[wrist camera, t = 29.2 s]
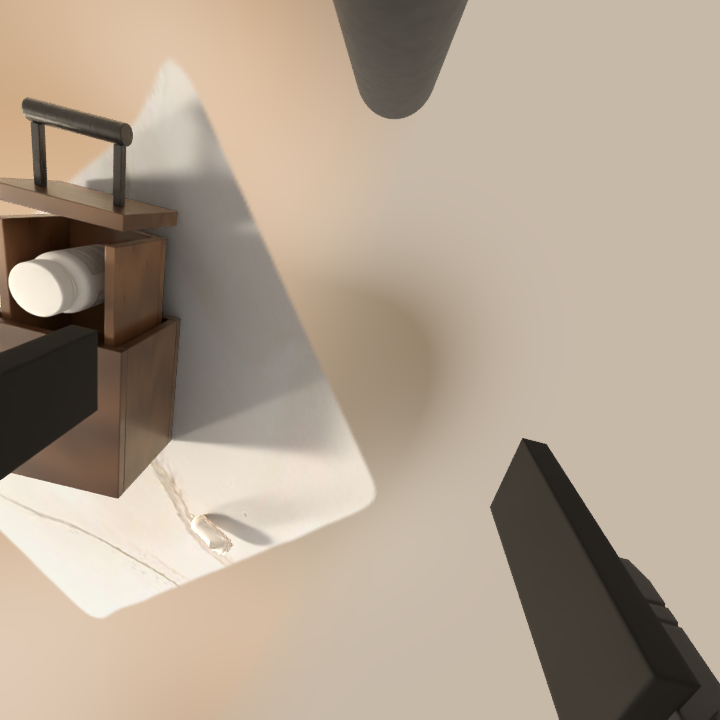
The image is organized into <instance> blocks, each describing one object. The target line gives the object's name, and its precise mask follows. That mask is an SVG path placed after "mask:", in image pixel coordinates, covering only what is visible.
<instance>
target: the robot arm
mask: <svg viewBox="0 0 720 720" xmlns="http://www.w3.org/2000/svg"><path fill="white" fill-rule="evenodd" d="M97 410H98V331H96V330H92V329H89V328H85V327H81V326H77V325H73V324H72V325H69V326H67V327H64V328H61V329H59V330H56V331H54V332H51V333H49V334H46V335H44V336H41V337H39V338H36V339H33V340H31V341H28V342H26V343H23V344H21V345H18V346H16V347H13V348H11V349H8V350H6V351H3V352H0V480H1V479H3V478H4V477H6V476H7V475H8V474H10V473H11V472H13V471H14V470H15V469H17V468H18V467H19V466H21V465H22V464H24V463H25V462H26V461H28V460H29V459H31V458H32V457H33V456H35V455H36V454H38V453H39V452H40V451H42V450H43V449H44V448H46V447H47V446H49V445H50V444H51V443H53V442H54V441H56V440H57V439H58V438H60V437H61V436H62V435H64V434H65V433H67V432H68V431H69V430H71V429H72V428H74V427H75V426H76V425H78V424H79V423H80V422H82V421H83V420H85V419H86V418H87V417H89V416H90V415H92V414H93V413H94V412H96V411H97ZM490 508H491V512H492V515H493V518H494V521H495V524H496V527H497V530H498V533H499V536H500V539H501V542H502V545H503V548H504V551H505V554H506V557H507V561H508V564H509V567H510V570H511V573H512V576H513V579H514V582H515V585H516V588H517V591H518V594H519V598H520V600H521V604H522V607H523V610H524V613H525V616H526V619H527V622H528V625H529V628H530V631H531V634H532V638H533V640H534V644H535V647H536V650H537V652H538V656H539V659H540V662H541V665H542V668H543V671H544V674H545V677H546V681H547V684H548V687H549V690H550V693H551V696H552V699H553V702H554V705H555V708H556V711H557V714H558V717H559V720H720V683H719V682H718V681H717V679H716V678H715V676H714V675H713V673H712V672H711V671H710V669H709V667H708V666H707V664H706V663H705V661H704V660H703V658H702V657H701V656H700V654H699V653H698V651H697V650H696V648H695V647H694V645H693V644H692V642H691V641H690V639H689V638H688V636H687V635H686V634H685V632H684V631H683V629H682V628H680V627H678V622H677V620H676V619H675V617H674V616H673V614H672V613H671V611H670V610H669V609H668V608H666V607H665V603H664V601H663V600H662V598H661V597H660V595H659V594H658V592H657V591H656V590H655V588H654V587H653V585H652V584H651V582H650V581H649V580H648V579H647V578H646V577H645V576H644V575H643V574H642V573H641V572H640V571H639V570H638V569H637V568H636V567H635V566H634V565H633V564H632V563H631V562H630V561H629V560H627V559H623V558H619V557H618V555H617V554H616V552H615V550H614V549H613V547H612V546H611V544H610V543H609V541H608V539H607V538H606V536H605V535H604V533H603V532H602V530H601V528H600V527H599V525H598V524H597V522H596V521H595V519H594V518H593V516H592V514H591V513H590V511H589V510H588V508H587V507H586V505H585V503H584V502H583V500H582V499H581V497H580V496H579V494H578V493H577V491H576V489H575V488H574V486H573V485H572V483H571V482H570V480H569V478H568V477H567V476H566V474H565V472H564V471H563V469H562V468H561V466H560V464H559V463H558V461H557V460H556V458H555V457H554V455H553V453H552V452H551V451H550V449H549V447H548V446H547V444H543V443H540V442H536V441H532V440H528V439H524V438H522V440H521V442H520V445H519V447H518V449H517V451H516V453H515V455H514V458H513V459H512V462H511V464H510V466H509V468H508V470H507V472H506V474H505V477H504V478H503V481H502V483H501V485H500V487H499V489H498V491H497V493H496V495H495V498H494V500H493V502H492V504H491V506H490Z"/></svg>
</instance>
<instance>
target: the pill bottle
mask: <svg viewBox="0 0 720 720" xmlns="http://www.w3.org/2000/svg"><path fill="white" fill-rule="evenodd" d="M105 245H108V244H95V245H88V246H82V247H75V248H69V249H64V250H57V251H51V252H47V253H43V254H41V255H39V256H38V257H37V258H35V259H34V260H30V261H26V262H22V263H19V264H17V265H16V266H15V267H14V268H13V269H12V270H11V272H10V274H9V280H8V282H9V288H10V291H11V294H12V296H13V298H14V299H15V300H16V302H17V303H18V304H19V305H20V306H21V307H22V308H23V309H25V310H26V311H28V312H29V313H31V314H33V315H36V316H42V317H48V316H53V315H56V314H59V313H62V312H63V313H76V312H80V311H82V310H85V309H88V308H91V307H94V306H96V305H99V304H102V303H105Z"/></svg>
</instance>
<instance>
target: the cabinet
mask: <svg viewBox="0 0 720 720" xmlns="http://www.w3.org/2000/svg"><path fill="white" fill-rule="evenodd" d="M180 322H181V319H179V318H175V317H171V316H167V315H163V314H162V321H161V324H160V325H158V326H156V327H154V328H152V329H151V330H149V331H147V332H145V333H143V334H141V335H139V336H138V337H136V338H134V339H132V340H130V341H128V342H127V343H125V344H123V345H121V346H119V347H115V346H111V345H107V344H103V343H99V342H98V410H97V411H96V412H94V413H93V414H92V415H90V416H89V417H87V418H86V419H85V420H83V421H82V422H80V423H79V424H78V425H76V426H75V427H74V428H72V429H71V430H69V431H68V432H67V433H65V434H64V435H62V436H61V437H60V438H58V439H57V440H56V441H54V442H53V443H51V444H50V445H49V446H47V447H46V448H44V449H43V450H42V451H40V452H39V453H38V454H36V455H35V456H33V457H32V458H31V459H29V460H28V461H26V462H25V463H24V464H22V465H21V466H19V467H18V468H17V469H15V470H14V471H13V472H11V473H14V474H18V475H22V476H26V477H31V478H35V479H39V480H43V481H47V482H51V483H55V484H60V485H64V486H68V487H72V488H76V489H80V490H84V491H89V492H93V493H97V494H101V495H105V496H109V497H113V498H119V497H120V496H121V495H122V494H123V493H124V492H125V491H126V489H127V488H128V487H129V486H130V485H131V484H132V483H133V482H134V481H135V480H136V478H137V477H138V476H139V475H140V474H141V473H142V472H143V471H144V470H145V469H146V467H147V466H148V465H149V464H150V463H151V462H152V461H153V460H154V459H155V458H156V456H157V455H158V454H159V453H160V452H161V451H162V450H163V449H164V448H165V447H166V445H167V444H168V443H169V442H170V441H171V435H172V422H173V410H174V397H175V385H176V372H177V360H178V347H179V334H180ZM51 332H54V331H51V330H47V329H43V328H39V327H35V326H31V325H27V324H23V323H19V322H15V321H12V320H8V319H4V318H2V313H1V307H0V352H3V351H6V350H8V349H11V348H13V347H16V346H18V345H21V344H23V343H26V342H28V341H31V340H33V339H36V338H39V337H41V336H44V335H46V334H49V333H51Z"/></svg>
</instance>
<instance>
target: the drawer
mask: <svg viewBox="0 0 720 720" xmlns="http://www.w3.org/2000/svg"><path fill="white" fill-rule="evenodd" d="M22 111H23V114H24V116H25V117H26V118H27V119H28V120H30V121H32V122H31V136H32V153H33V170H34V180H33V179H16V178H0V200H3V201H6V202H10V203H14V204H18V205H21V206H25V207H29V208H33V209H37V210H41V211H44V212H48V213H52V214H33V215H9V216H0V303H1V313H2V318H4V319H8V320H12V321H15V322H19V323H23V324H27V325H31V326H35V327H39V328H43V329H47V330H51V331H56V330H59V329H61V328H64V327H67V326H69V325H72V324H73V325H77V326H81V327H85V328H89V329H92V330H96V331H98V342H99V343H103V344H107V345H111V346H115V347H119V346H121V345H123V344H125V343H127V342H128V341H130V340H132V339H134V338H136V337H138V336H139V335H141V334H143V333H145V332H147V331H149V330H151V329H152V328H154V327H156V326H158V325H160V324H161V321H162V305H163V288H164V272H165V255H166V239H165V238H161V237H158V236H154V235H150V234H146V233H142V232H138V231H135V230H143V229H151V228H159V227H168V226H176V225H177V216H178V212H177V211H173V210H170V209H166V208H162V207H158V206H154V205H150V204H147V203H143V202H139V201H135V200H131V199H128V198H125V172H126V146H129V145H130V144H131V143H132V139H133V133H132V129H131V127H130V125H128V124H127V123H123V122H119V121H116V120H112V119H108V118H105V117H101V116H97V115H93V114H90V113H86V112H82V111H78V110H74V109H71V108H67V107H63V106H60V105H56V104H52V103H48V102H45V101H41V100H37V99H33V98H29V97H28V98H25V99H24V100H23V102H22ZM44 125H47V126H51V127H55V128H58V129H62V130H66V131H70V132H73V133H77V134H81V135H85V136H89V137H93V138H96V139H100V140H104V141H107V142H111V143H115V144H114V164H113V195H112V194H108V193H105V192H101V191H97V190H93V189H89V188H86V187H82V186H78V185H74V184H70V183H66V182H63V181H51V180H47V170H46V169H47V167H46V145H45V126H44ZM95 244H108V245H105V303H102V304H99V305H96V306H94V307H91V308H88V309H85V310H82V311H80V312H76V313H63V312H62V313H59V314H56V315H53V316H48V317H42V316H36V315H33V314H31V313H29V312H28V311H26V310H25V309H23V308H22V307H21V306H20V305H19V304H18V303H17V302H16V300H15V299H14V298H13V296H12V294H11V291H10V288H9V282H8V280H9V274H10V272H11V270H12V269H13V268H14V267H15V266H16V265H17V264H19V263H22V262H26V261H30V260H34V259H35V258H37V257H38V256H39V255H41V254H43V253H47V252H51V251H57V250H64V249H69V248H75V247H82V246H88V245H95Z"/></svg>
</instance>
